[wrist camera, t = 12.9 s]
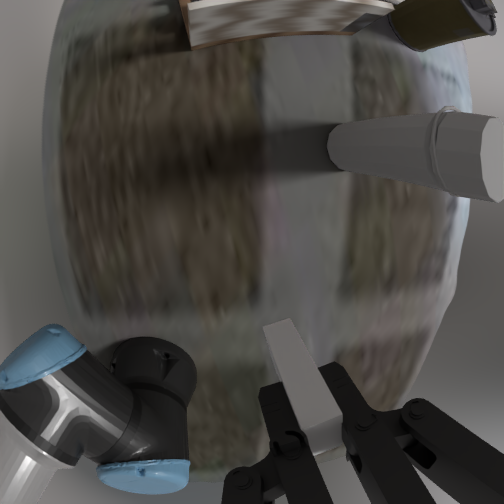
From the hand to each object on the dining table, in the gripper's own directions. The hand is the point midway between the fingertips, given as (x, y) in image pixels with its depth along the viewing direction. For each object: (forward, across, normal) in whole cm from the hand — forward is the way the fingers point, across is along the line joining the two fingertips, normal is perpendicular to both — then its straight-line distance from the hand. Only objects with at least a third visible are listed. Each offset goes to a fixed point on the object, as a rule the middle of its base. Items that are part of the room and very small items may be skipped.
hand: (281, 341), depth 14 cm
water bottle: (+25, +20, +7) cm, 32 cm away
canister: (+25, +40, +28) cm, 55 cm away
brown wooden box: (+24, +13, +30) cm, 41 cm away
